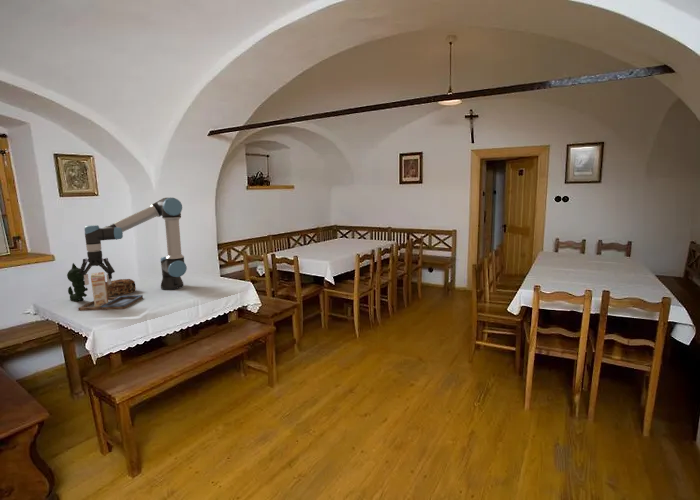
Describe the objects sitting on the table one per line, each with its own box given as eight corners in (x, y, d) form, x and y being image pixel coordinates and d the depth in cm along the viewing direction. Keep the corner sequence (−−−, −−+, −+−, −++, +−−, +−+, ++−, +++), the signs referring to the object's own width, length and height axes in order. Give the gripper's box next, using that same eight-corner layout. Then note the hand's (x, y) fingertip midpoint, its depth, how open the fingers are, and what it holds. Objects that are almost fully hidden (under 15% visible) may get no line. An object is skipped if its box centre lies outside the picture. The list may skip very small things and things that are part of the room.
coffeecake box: (108, 306, 234) (104, 275, 231) (94, 309, 230) (90, 277, 227) (108, 301, 246) (104, 271, 243) (95, 303, 243) (91, 273, 240)
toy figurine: (76, 304, 240) (71, 265, 236) (62, 300, 249) (56, 263, 245) (92, 300, 248) (87, 262, 244) (78, 296, 257) (73, 260, 253)
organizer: (143, 298, 250) (142, 295, 250) (124, 308, 228) (124, 305, 228) (100, 299, 249) (100, 296, 249) (78, 310, 227) (77, 307, 227)
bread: (106, 298, 252) (104, 283, 251) (101, 295, 259) (99, 281, 258) (136, 292, 266) (135, 278, 264) (131, 289, 273) (129, 276, 272)
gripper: (118, 249, 237) (122, 282, 240) (77, 250, 236) (81, 283, 239) (111, 251, 230) (115, 285, 233) (69, 252, 229) (73, 286, 232)
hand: (98, 284), depth 236 cm, fingers open, 13 cm apart
